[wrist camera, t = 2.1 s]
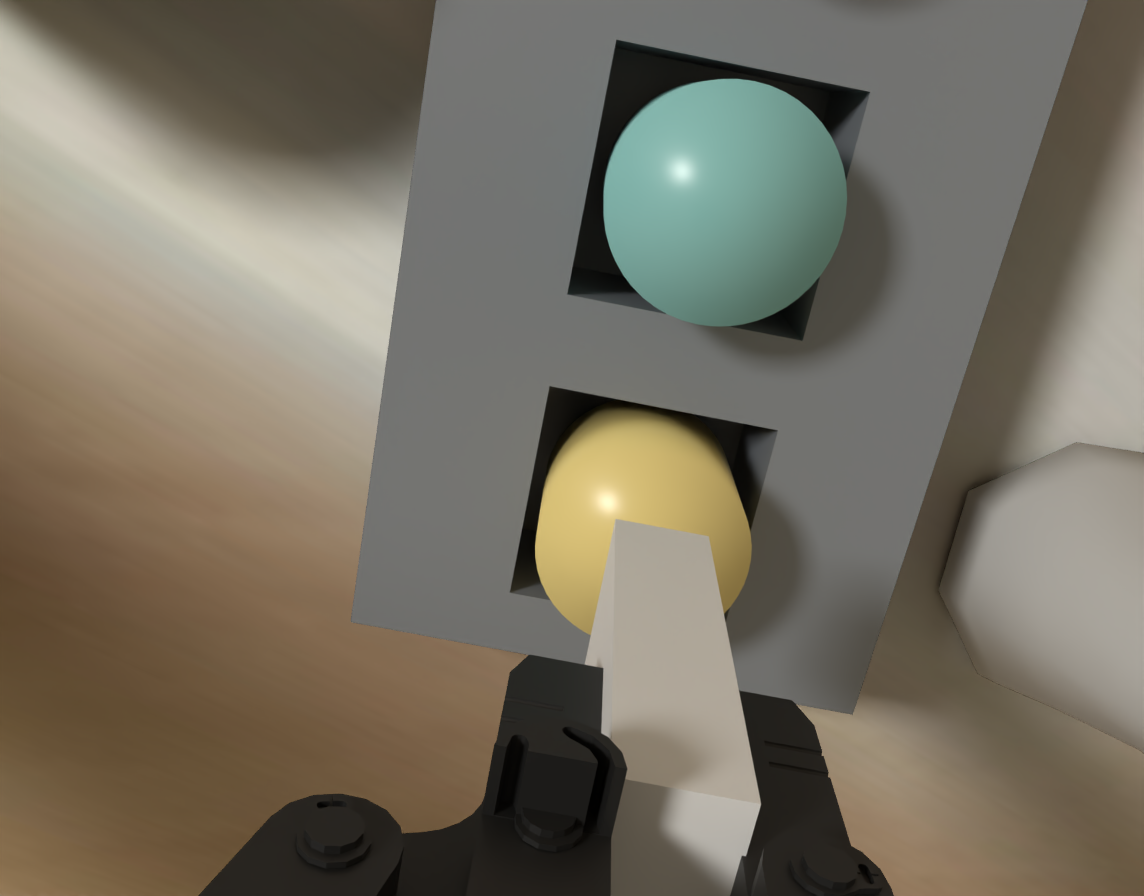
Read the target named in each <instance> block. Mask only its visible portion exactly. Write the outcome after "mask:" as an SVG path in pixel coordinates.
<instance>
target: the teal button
mask: <svg viewBox="0 0 1144 896" xmlns="http://www.w3.org/2000/svg"><path fill="white" fill-rule="evenodd" d="M846 206H847V187H846V178H845V173H844V168H843V164H842V161H841V158H840V155H839V152H838V150H837V148H836V145H835V143H834V141H833V139H832V137H831V136H830V134H829V133H828V131H827V130H826V128H825V127H824V125H823V124H822V122H821V121H820V120H819V119H818V118H817V117H816V116H815V115H814V113H813V112H812V111H811V110H809V109H808V108H807V107H806V106H805V105H804V104H802V103H801V102H800V101H799V100H797V99H795V98H794V97H792V96H791V95H789V94H787V93H786V92H784V91H782V90H779V89H777V88H775V87H773V86H770V85H767V84H763V83H760V82H756V81H750V80H743V79H717V80H708V81H700V82H693V83H687V84H684V85H680V86H677V87H674V88H672V89H669V90H667V91H665V92H663V93H661V94H659V95H658V96H656V97H654V98H653V99H651V100H650V101H648V102H647V103H646V104H645V105H643V106H642V107H641V108H640V109H639V110H638V111H637V112H636V113H635V114H634V115H633V116H632V117H631V118H630V119H629V120H628V122H627V123H626V124H625V126H624V127H623V128H622V130H621V131H620V133H619V135H618V137H617V139H616V140H615V142H614V144H613V147H612V149H611V152H610V154H609V157H608V161H607V165H606V169H605V176H604V223H605V231H606V235H607V239H608V243H609V247H610V249H611V252H612V254H613V257H614V259H615V262H616V263H617V265H618V267H619V269H620V270H621V272H622V274H623V275H624V277H625V278H626V279H627V281H628V282H629V283H630V285H631V286H632V287H633V288H634V289H635V290H636V291H637V292H638V293H639V294H640V295H641V296H642V297H643V298H644V299H645V300H646V301H648V302H649V303H650V304H652V305H653V306H654V307H656V308H657V309H659V310H661V311H663V312H664V313H666V314H668V315H670V316H673V317H675V318H677V319H680V320H682V321H686V322H690V323H694V324H698V325H705V326H734V325H742V324H746V323H750V322H754V321H758V320H760V319H763V318H765V317H768V316H770V315H773V314H775V313H776V312H778V311H780V310H782V309H784V308H785V307H787V306H788V305H790V304H791V303H793V302H794V301H795V300H797V299H798V298H799V297H800V296H802V295H803V294H804V293H805V292H806V291H807V290H808V289H809V288H810V287H811V286H812V285H813V284H814V283H815V281H816V280H817V279H818V278H819V277H820V275H821V274H822V273H823V271H824V270H825V268H826V266H827V265H828V263H829V262H830V260H831V258H832V256H833V254H834V252H835V250H836V248H837V246H838V243H839V240H840V237H841V234H842V231H843V226H844V221H845V217H846Z"/></svg>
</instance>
